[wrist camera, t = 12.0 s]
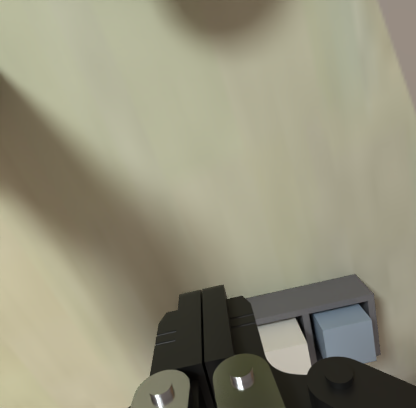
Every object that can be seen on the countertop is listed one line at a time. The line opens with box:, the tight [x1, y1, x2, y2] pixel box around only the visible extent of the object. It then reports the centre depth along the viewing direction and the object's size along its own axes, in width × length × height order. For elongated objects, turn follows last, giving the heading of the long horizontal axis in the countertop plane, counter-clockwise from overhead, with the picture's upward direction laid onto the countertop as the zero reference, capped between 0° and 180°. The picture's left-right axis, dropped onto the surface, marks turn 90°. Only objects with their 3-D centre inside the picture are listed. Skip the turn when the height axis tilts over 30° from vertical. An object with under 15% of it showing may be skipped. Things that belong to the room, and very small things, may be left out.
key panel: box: [246, 274, 381, 366], centre depth 41 cm, size 22×8×4 cm, turn 103°
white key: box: [257, 317, 311, 375], centre depth 38 cm, size 5×5×4 cm
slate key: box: [310, 303, 376, 363], centre depth 39 cm, size 5×5×4 cm
